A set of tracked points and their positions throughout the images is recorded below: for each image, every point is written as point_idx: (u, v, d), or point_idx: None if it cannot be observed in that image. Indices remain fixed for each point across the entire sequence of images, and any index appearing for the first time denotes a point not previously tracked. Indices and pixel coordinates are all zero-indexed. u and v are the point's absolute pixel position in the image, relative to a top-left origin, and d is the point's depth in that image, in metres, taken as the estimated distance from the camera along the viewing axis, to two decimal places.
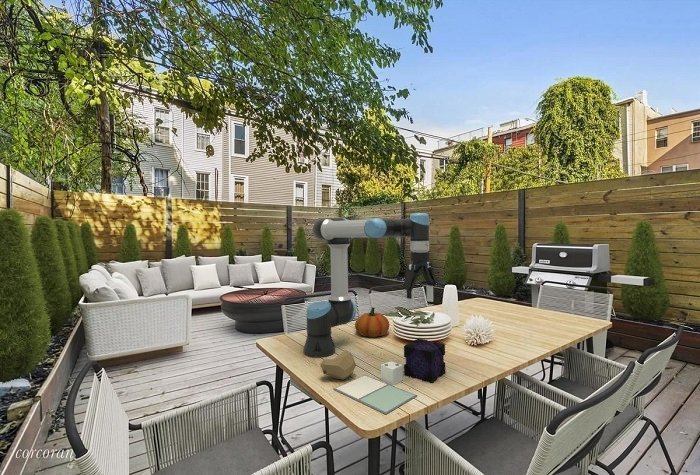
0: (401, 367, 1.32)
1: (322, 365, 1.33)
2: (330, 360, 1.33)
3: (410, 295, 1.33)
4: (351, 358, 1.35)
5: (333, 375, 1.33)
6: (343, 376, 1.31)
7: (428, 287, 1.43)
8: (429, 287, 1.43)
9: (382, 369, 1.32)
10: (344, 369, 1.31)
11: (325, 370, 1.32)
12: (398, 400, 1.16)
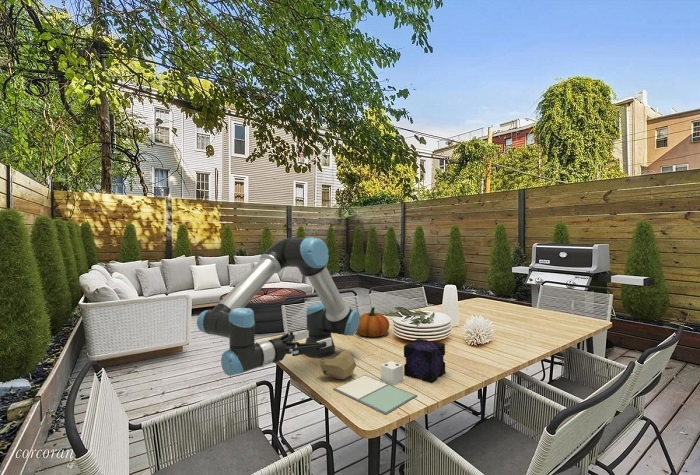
0: (401, 367, 1.32)
1: (322, 365, 1.33)
2: (330, 360, 1.33)
3: None
4: (351, 358, 1.35)
5: (333, 375, 1.33)
6: (343, 376, 1.31)
7: None
8: None
9: (382, 369, 1.32)
10: (344, 369, 1.31)
11: (325, 370, 1.32)
12: (398, 400, 1.16)
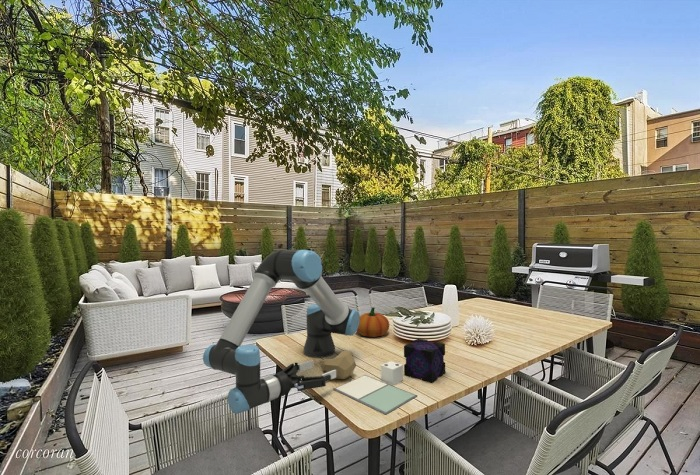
0: (401, 367, 1.32)
1: (322, 365, 1.33)
2: (330, 360, 1.33)
3: None
4: (351, 358, 1.35)
5: None
6: (343, 376, 1.31)
7: None
8: None
9: (382, 369, 1.32)
10: (344, 369, 1.31)
11: (325, 370, 1.32)
12: (398, 400, 1.16)
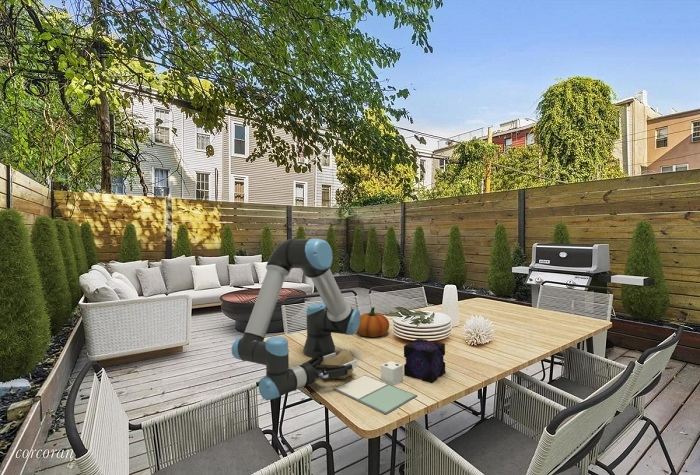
0: (401, 367, 1.32)
1: (322, 365, 1.33)
2: (330, 360, 1.33)
3: None
4: (350, 357, 1.36)
5: None
6: None
7: None
8: None
9: (382, 369, 1.32)
10: None
11: None
12: (398, 400, 1.16)
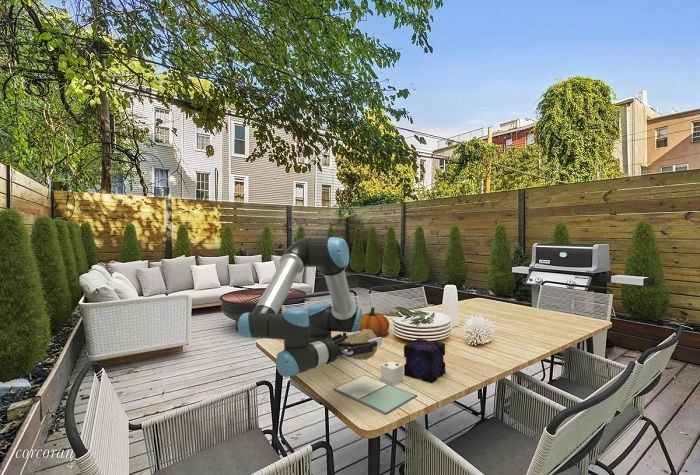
0: (401, 367, 1.32)
1: None
2: (352, 339, 1.20)
3: None
4: (373, 335, 1.23)
5: (355, 356, 1.20)
6: (368, 355, 1.19)
7: None
8: None
9: (382, 369, 1.32)
10: None
11: None
12: (398, 400, 1.16)
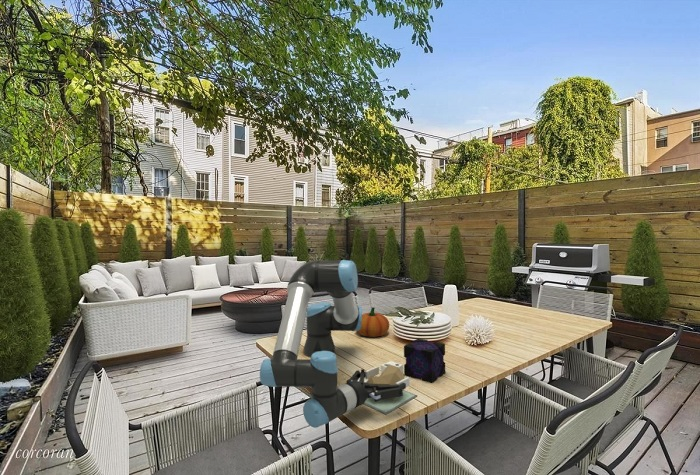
0: (401, 367, 1.32)
1: None
2: (379, 378, 1.15)
3: None
4: (400, 373, 1.18)
5: None
6: None
7: None
8: None
9: (382, 369, 1.32)
10: None
11: (374, 390, 1.14)
12: (398, 400, 1.16)
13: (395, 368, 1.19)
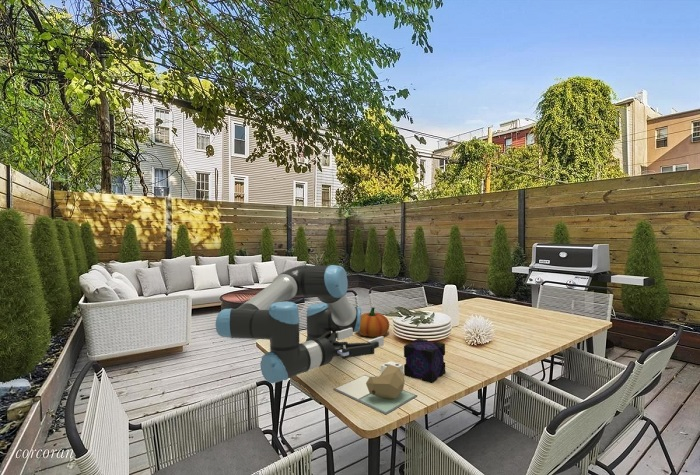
0: (401, 367, 1.32)
1: (369, 384, 1.15)
2: (379, 378, 1.15)
3: None
4: (400, 373, 1.18)
5: (381, 395, 1.16)
6: (395, 395, 1.14)
7: None
8: None
9: (382, 369, 1.32)
10: (396, 387, 1.14)
11: (374, 390, 1.14)
12: (398, 400, 1.16)
13: (395, 368, 1.19)
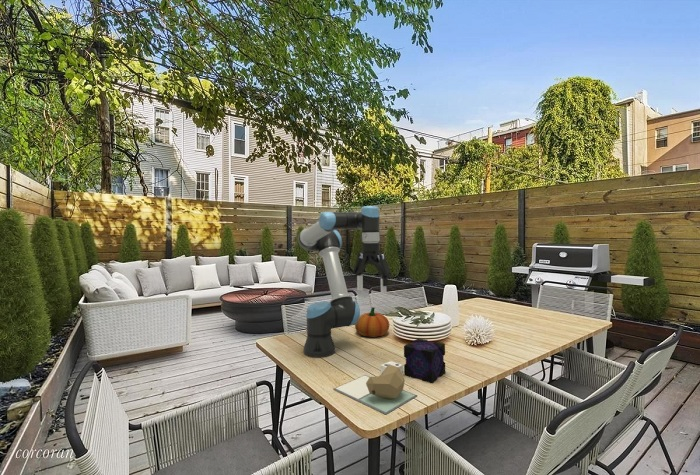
0: (401, 367, 1.32)
1: (369, 384, 1.15)
2: (379, 378, 1.15)
3: None
4: (400, 373, 1.18)
5: (381, 395, 1.16)
6: (395, 395, 1.14)
7: None
8: None
9: (382, 369, 1.32)
10: (396, 387, 1.14)
11: (374, 390, 1.14)
12: (398, 400, 1.16)
13: (395, 368, 1.19)
